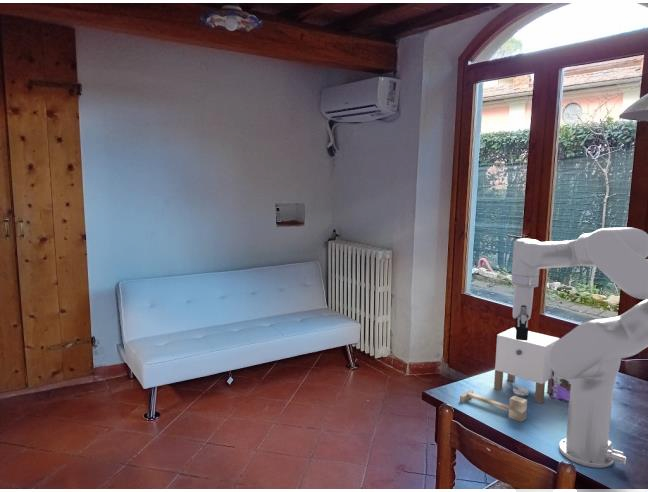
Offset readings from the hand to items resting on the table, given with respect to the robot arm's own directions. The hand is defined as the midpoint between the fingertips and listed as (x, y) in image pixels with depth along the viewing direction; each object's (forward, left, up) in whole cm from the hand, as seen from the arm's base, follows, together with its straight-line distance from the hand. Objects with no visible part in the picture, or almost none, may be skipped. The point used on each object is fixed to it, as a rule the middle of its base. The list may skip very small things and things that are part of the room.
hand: (521, 334), depth 147 cm
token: (+4, -13, -24) cm, 28 cm away
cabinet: (+4, -16, -24) cm, 29 cm away
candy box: (-11, -20, -24) cm, 33 cm away
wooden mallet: (+5, +5, -24) cm, 25 cm away
